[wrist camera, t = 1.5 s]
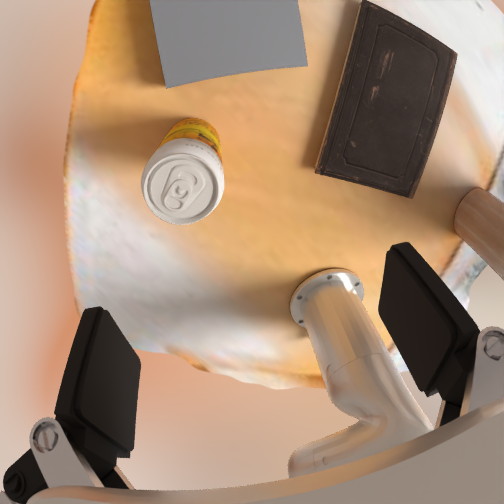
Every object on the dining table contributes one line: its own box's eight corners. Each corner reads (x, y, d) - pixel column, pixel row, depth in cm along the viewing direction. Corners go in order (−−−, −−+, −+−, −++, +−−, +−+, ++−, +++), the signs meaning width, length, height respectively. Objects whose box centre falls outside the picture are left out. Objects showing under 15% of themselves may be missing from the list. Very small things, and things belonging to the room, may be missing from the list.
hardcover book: (309, 167, 37) (315, 173, 35) (355, 1, 25) (363, -2, 23) (406, 193, 40) (414, 199, 38) (449, 54, 28) (459, 55, 26)
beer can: (229, 133, 33) (242, 175, 20) (202, 176, 35) (197, 242, 23) (183, 107, 30) (163, 132, 18) (157, 152, 33) (124, 207, 20)
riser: (297, 66, 29) (307, 66, 26) (171, 87, 29) (166, 88, 25) (278, -39, 21) (286, -51, 18) (151, -20, 21) (144, -31, 17)
